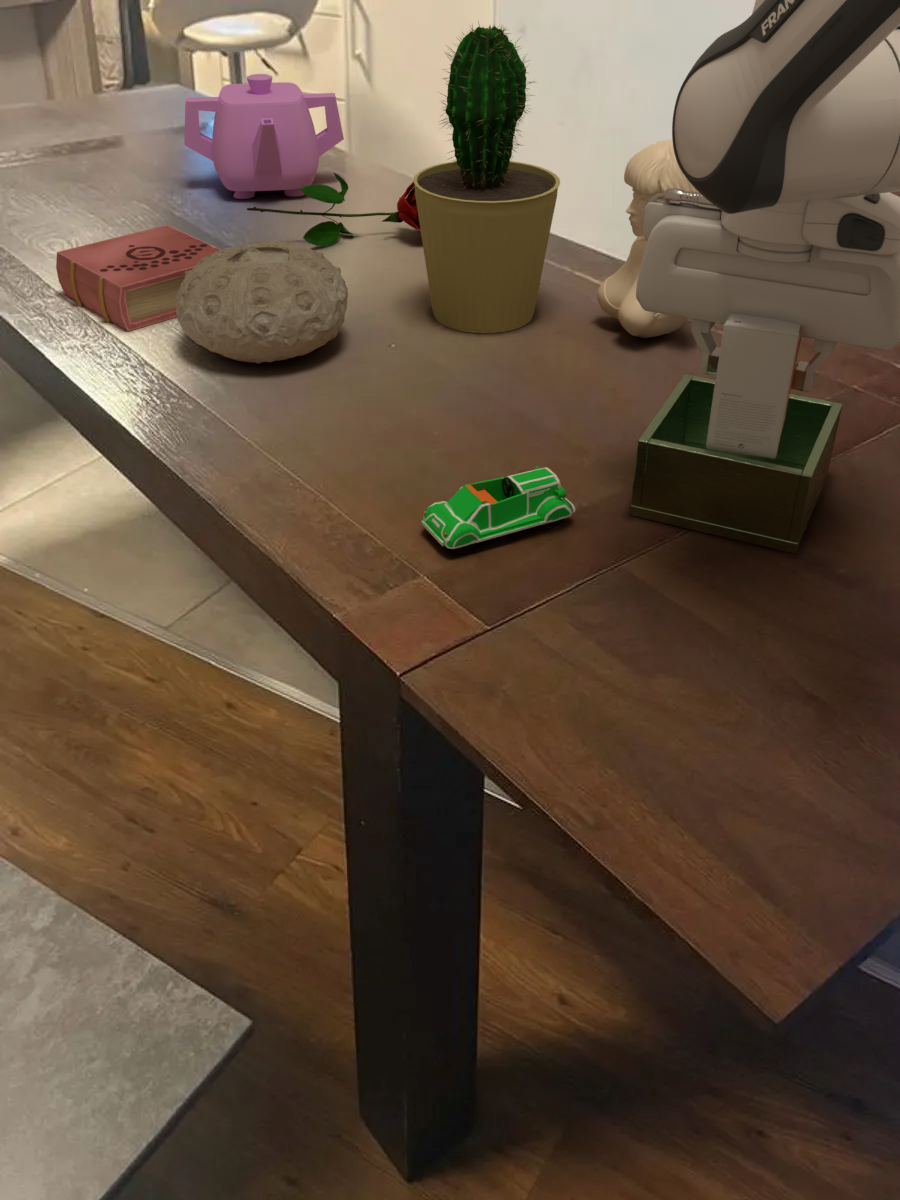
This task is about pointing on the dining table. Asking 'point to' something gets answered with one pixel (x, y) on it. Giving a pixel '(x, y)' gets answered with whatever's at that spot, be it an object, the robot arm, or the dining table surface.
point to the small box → (753, 385)
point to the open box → (733, 471)
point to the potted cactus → (485, 196)
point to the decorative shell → (262, 301)
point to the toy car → (498, 509)
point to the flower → (331, 231)
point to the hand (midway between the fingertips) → (756, 379)
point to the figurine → (642, 241)
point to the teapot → (263, 135)
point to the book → (131, 274)
